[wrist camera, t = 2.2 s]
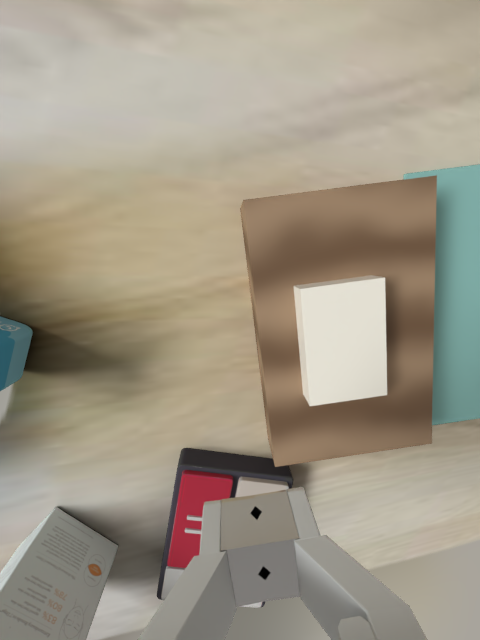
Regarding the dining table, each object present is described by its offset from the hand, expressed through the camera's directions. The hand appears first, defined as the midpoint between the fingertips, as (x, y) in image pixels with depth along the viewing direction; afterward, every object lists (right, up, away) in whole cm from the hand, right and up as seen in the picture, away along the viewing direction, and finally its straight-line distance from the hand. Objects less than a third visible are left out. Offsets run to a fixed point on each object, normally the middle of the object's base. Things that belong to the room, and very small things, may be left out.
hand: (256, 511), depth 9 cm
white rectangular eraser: (+7, +4, +14) cm, 16 cm away
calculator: (-2, -15, +23) cm, 28 cm away
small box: (-18, -18, +23) cm, 34 cm away
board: (+8, +5, +19) cm, 21 cm away
